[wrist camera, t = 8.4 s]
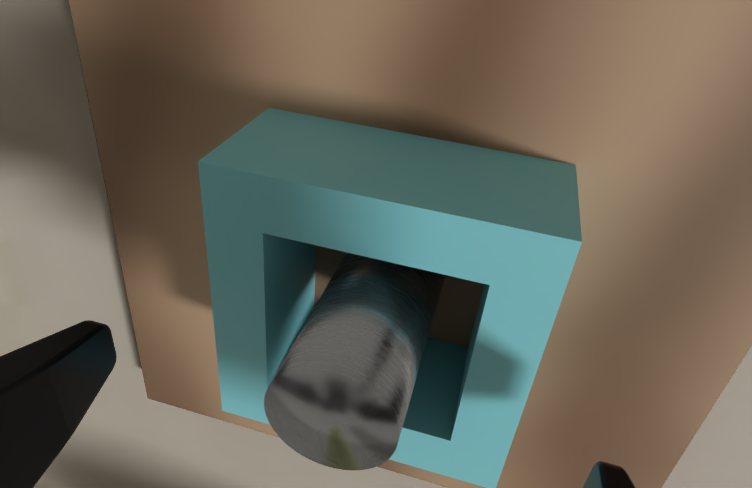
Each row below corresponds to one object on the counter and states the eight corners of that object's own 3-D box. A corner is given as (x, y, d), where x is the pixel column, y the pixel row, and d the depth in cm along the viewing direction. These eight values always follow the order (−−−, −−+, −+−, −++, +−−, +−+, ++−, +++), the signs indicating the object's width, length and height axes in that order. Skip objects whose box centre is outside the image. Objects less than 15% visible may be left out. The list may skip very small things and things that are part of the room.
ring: (576, 164, 11) (581, 241, 9) (505, 391, 15) (495, 490, 12) (269, 108, 12) (198, 161, 10) (273, 330, 16) (222, 410, 13)
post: (454, 231, 13) (407, 392, 9) (438, 312, 14) (390, 485, 10) (353, 209, 13) (262, 353, 9) (346, 289, 14) (265, 447, 10)
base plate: (973, -78, 9) (1018, -75, 8) (623, 510, 17) (627, 541, 17) (70, -174, 11) (32, -179, 10) (164, 377, 20) (147, 398, 19)
